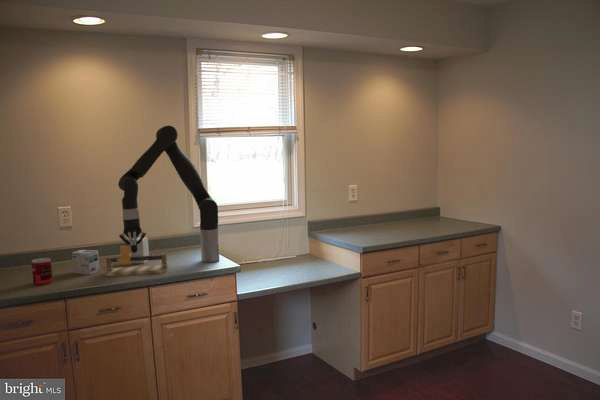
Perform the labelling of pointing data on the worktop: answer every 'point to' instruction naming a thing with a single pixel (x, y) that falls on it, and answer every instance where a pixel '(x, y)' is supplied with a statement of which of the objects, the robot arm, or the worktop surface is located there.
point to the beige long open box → (137, 270)
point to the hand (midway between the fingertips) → (134, 252)
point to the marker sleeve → (124, 255)
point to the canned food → (42, 271)
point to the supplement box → (141, 249)
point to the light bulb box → (85, 262)
